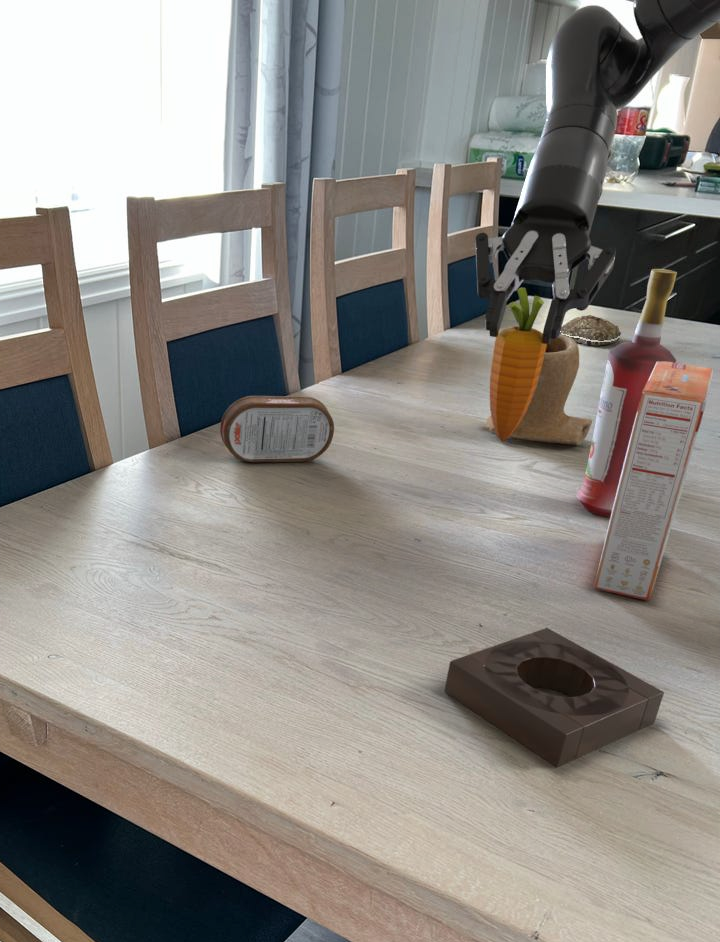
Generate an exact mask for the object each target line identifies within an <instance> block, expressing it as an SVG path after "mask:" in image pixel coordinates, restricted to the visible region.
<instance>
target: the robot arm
mask: <svg viewBox="0 0 720 942" xmlns="http://www.w3.org/2000/svg"><path fill="white" fill-rule="evenodd" d="M632 5H633V6H632V7H633V16H634V21H635V23H636V26H637V29H638V31H639V34H640V35H641V37H640V38H638V39H637V38H636V37H634V35H633V34H632V33H630V31H629V30H628V29H627V28H626V27H625V26H624V25H623V24H622V23H621V22H620V21H619V20H618V19H617V18H616V16H614V15H613V14H612V12H611V11H609V10H608V9H606V8H605V7H604V6H600V5H595V4H593V5H592V4H591V5H586V6H583V7H580V8H578V9H576V10H575V11H573V12H572V13H571V14H570V15H569V16H568V17H566V19H564V21H563V22H562V23H561V25H560V26H559V27H558V29H557V30H556V32H555V34H554V36H553V39H552V41H551V43H550V46H549V49H548V54H547V57H546V66H545V107H546V108H545V109H546V119H545V122H544V125H543V128H542V132H541V134H540V138H539V142H538V145H537V147H536V150H535V152H534V155H533V156H532V159H531V161H530V164H529V166H528V170H527V173H526V177H525V180H524V182H523V186H522V189H521V193H520V197H519V200H518V203H517V206H516V210H515V212H514V217H513V220H512V222H511V225H510V226H509V228H508V229H507V230H506V231H505V232H504V233H503V234H502V236H497V237H489V236H488V234H487V233H486V232H480V233H477V235H476V236H475V265H476V267H475V268H476V288H477V289H476V291H477V292H476V293H477V296H478V298H479V299H488V300H489V303H488V306H487V310H486V313H485V317H484V321H485V322H484V323H485V324H484V327H485V331H489V337H491V338H496V337H497V336H498V334H499V333H500V330H501V326H502V322H503V320H504V317H505V312H506V309H507V302H508V301H509V299H510V297H511V296H512V295H513V293H514V292H517V290H518V289H519V288H520V286H521V284H522V283H523V282H524V281H537V280H538V281H540V282H543V283H549V284H551V288H552V296H553V298H552V299H551V301H550V304H549V308H548V312H547V316H546V319H545V323H544V326H543V331H542V333H543V336H542V343H543V344H550V341H551V339H557V338H558V336H559V335H560V331H561V327H562V326H563V325H564V324H563V323H564V320H565V317H566V313H568V311H571V310H573V309H576V310H577V311H580V312H582V311H585V310H586V309H588V307H589V306H590V305H591V303H592V301H593V300H594V298H595V297H596V296H597V294H598V292H599V291H600V289H601V288H602V286H603V285H604V284H605V282H606V280H607V279H608V277H609V275H610V274H611V272H613V269H614V265H615V260H616V253H617V249H616V247H614V246H613V245H607V246H604V247H603V248H600V247H597V246H594V245H592V242H591V238H590V233H591V230H592V226H593V222H594V218H595V215H596V212H597V208H598V205H599V201H600V198H601V196H602V195H603V191H604V189H603V186H604V183H605V178H606V173H607V166H608V165H607V163H608V158H609V156H610V153H611V152H610V151H611V148H612V145H613V141H614V137H615V133H616V129H617V125H618V110H620V109H622V108H624V107H626V106H628V105H629V104H630V103H631V102H632V101H633V100H634V99H635V98H636V97H637V96H638V95H639V94H640V93H641V92H642V90H643V89H644V88H645V87H646V86H647V84H649V82H650V81H651V80H652V79H653V77H654V76H655V75H657V73H658V72H659V71H660V70H661V69H662V68H663V67H664V66H665V65H666V64H667V63H668V61H670V60H671V59H672V57H674V56H675V55H676V53H678V52H679V51H680V49H682V48H683V47H684V46H685V45H686V44H687V43H689V42H690V41H692V40H693V39H695V38H696V37H698V36H699V35H701V34H702V33H704V32H705V31H706V30H708V29H710V28H711V27H712V26H714V25H715V24H717V23H718V22H720V0H633V4H632ZM501 251H503V253H504V255H505V257H506V259H507V262H506V264H505V266H504V267H503V268H504V269H503V271H502V272H501V274H500V275H499V276H498V278H497V279H496V280H495V279H494V278H491V275H490V273H491V272H490V264H491V263H493V262H494V261H495V260H496V259H497V256H498V254H499V252H501ZM586 260H587V261H588V266H587V269H588V271H587V273H586V274H585V275H584V278H583V279H582V281H581V282H580V283H579V285H578V287H577V288H571V289H570V284H569V283H570V281H569V273H570V272H571V271H573V270H574V269H576V268H577V267H578V266H579V265H581V264H582V263H583V262H585V261H586Z"/></svg>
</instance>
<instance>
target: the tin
mask: <svg viewBox="0 0 720 942" xmlns="http://www.w3.org/2000/svg"><path fill="white" fill-rule="evenodd" d="M334 423H335V422H334V420H333V417H332V415H331V413H330V411H329V410H328V407H326V405H325V404H324V403H323V402H321V401H320V400H319V399H317V398H315V397H311V396H296V395H295V396H292V395H290V396H289V395H288V396H285V395H283V396H282V395H281V396H279V395H277V396H276V395H247V396H244V397H242V398H239V399H237V400H236V401H234V402H233V403H232V404H231V405H229V406H228V407H227V409H225V412H224V413H223V416H222V417H221V421H220V426H219V433H220V437H221V440H222V442H223V444H224V445H225V447H226V448H227V450H228V451H229V452H230V454H232V456H234V458H236V459H238V460H240V461H243V462H246V463H307V462H310V461H314V460H316V459H317V458H319V457H320V456H322V455H323V454H324V453H325V452H326V451H327V450H328V449H329V447H330V445H331V443H332V441H333V438H334V434H335V424H334Z"/></svg>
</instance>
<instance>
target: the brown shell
mask: <svg viewBox="0 0 720 942" xmlns="http://www.w3.org/2000/svg"><path fill="white" fill-rule="evenodd" d="M561 333H563V334H567V335H570V336H579V337H583V338H586V339H590V340H598V341H604V340H611V339H615V338H617V337H618V336H620V335H621V336H622V332H621V331H620V328H619V326H618V325H615V324H614V323H613V322H611V321H609V320H608V319H606V318H602V317H598V316H595V315H592V314H588V315H581V316H576V317H575V318H573V319H571V320H570V321H567V322H566V323H565V324H562V327H561V332H560V335H562V334H561ZM563 336H566V335H563ZM567 337H569V336H567ZM569 338H571V339H573V340H574V341H575V342H576V343H577V344H581V345H584V346H591V347H601V346H607V345H610V344H614V343H616V342H617V341H619V340H620V339H621V337H620V338H618V339H617V340H615V341H611V342H591V341H586V340H583V339H580V338H574V337H569Z"/></svg>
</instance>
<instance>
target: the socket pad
mask: <svg viewBox="0 0 720 942" xmlns="http://www.w3.org/2000/svg"><path fill="white" fill-rule="evenodd" d="M536 688H543V689H549V690H554V691H557V692H560V693H562V694H566V695H568V696H561V695H554V694H550V693H546V692H543V691H541V690H539V689H536ZM444 692H445V693H446V694H447V695H448V696H450V697H452V698H453V699H455V700H456V701H457V702H459V703H460V704H462V705H463V706H464V707H467V708H468V709H470V710H471V711H472V712H474V713H476V714H477V715H478V716H480V717H481V718H483V719H485V720H486V721H488V722H489V723H491V724H492V725H493V726H495V727H496V728H497V729H499V730H501V731H502V732H504V733H506V735H509V736H510V737H511V738H513V739H514V740H516V741H517V742H519V743H520V744H522V745H523V746H525V747H526V748H527V749H529V750H530V751H531V752H533V753H535V754H536V755H538V756H539V757H541V758H542V759H544V760H546V761H547V762H548V763H550V764H551V765H552V766H554V767H556V768H559V767H561V766H564V765H565V764H568V763H570V762H572V761H575V760H576V759H578V758H580V757H583V756H584V755H587V754H589V753H591V752H593V751H595V750H598V749H600V748H602V747H604V746H607V745H609V744H611V743H613V742H615V741H617V740H620V739H622V738H624V737H625V736H628V735H630V734H632V733H635V732H637V731H640V730H642V729H644V728H646V727H648V726H650V725H653V724H655V722H656V719H657V716H658V713H659V710H660V707H661V703H662V700H663V698H664V694H665V691H663V690H662V689H660V688H658V687H655V686H654V685H652V684H650V683H649V682H646V680H645V681H644V680H643V679H641V678H640V677H637V676H636V675H634V674H632V673H631V672H628V671H627V670H625V669H623V668H621V667H620V666H618V665H615V664H614V663H613V662H610V661H609V660H607V659H605V658H603V657H602V656H600V655H597V654H596V653H594V652H592V651H590V650H589V649H586V648H585V647H583V646H581V645H579V644H577V643H575V642H574V641H572V640H570V639H568V638H567V637H565V636H563V635H562V634H559V633H558V632H556V631H554V630H553V629H550V628H548V627H545V628H542V629H539V630H535V631H533V632H531V633H528V634H525V635H522V636H519V637H516V638H513V639H510V640H507V641H504V642H501V643H498V644H495V645H493V646H490V647H487V648H484V649H480V650H477V651H475V652H472V653H469V654H468V655H467V654H466V655H464V656H461V657H459V658H455V659H452V660H450V661H449V665H448V669H447V674H446V681H445V686H444Z"/></svg>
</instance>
